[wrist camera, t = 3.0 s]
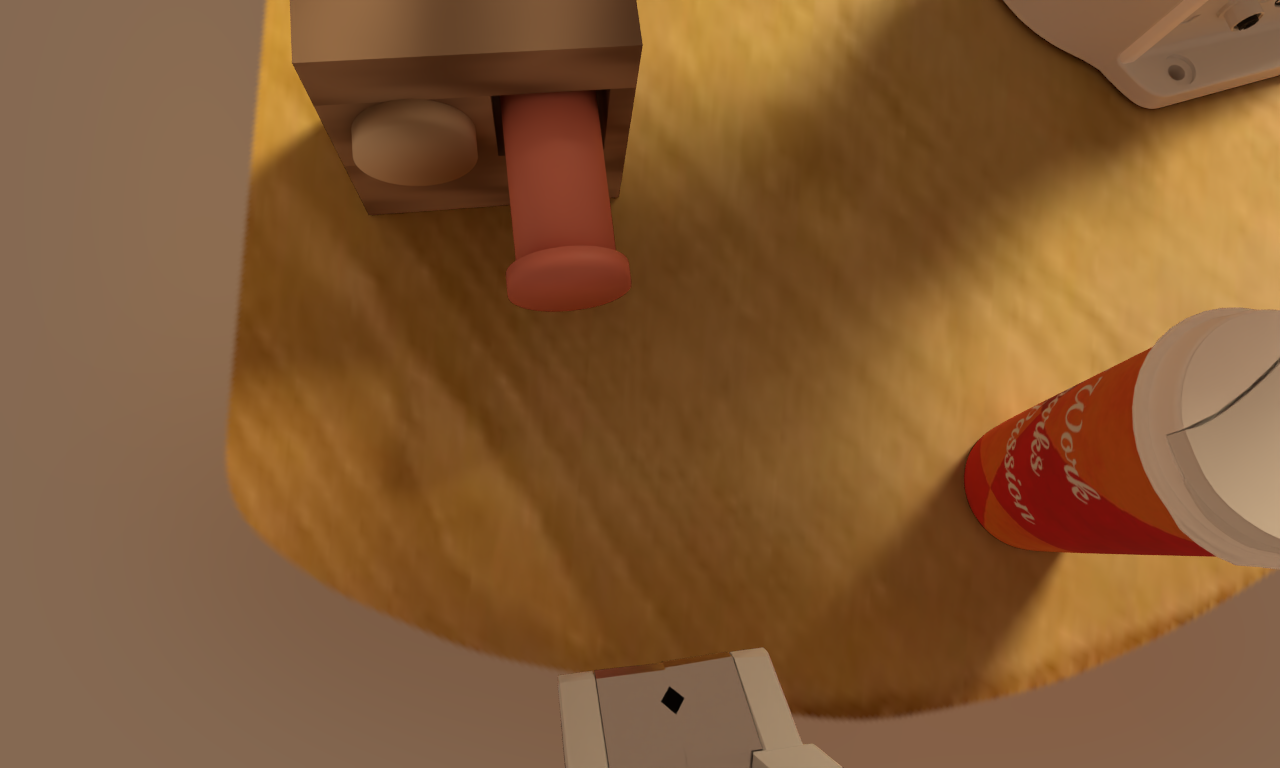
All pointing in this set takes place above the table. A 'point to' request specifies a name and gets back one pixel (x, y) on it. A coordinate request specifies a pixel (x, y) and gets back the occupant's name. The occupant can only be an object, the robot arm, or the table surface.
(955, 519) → the table surface
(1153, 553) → the paper cup
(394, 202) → the socket block
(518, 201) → the red plug
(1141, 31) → the robot arm
